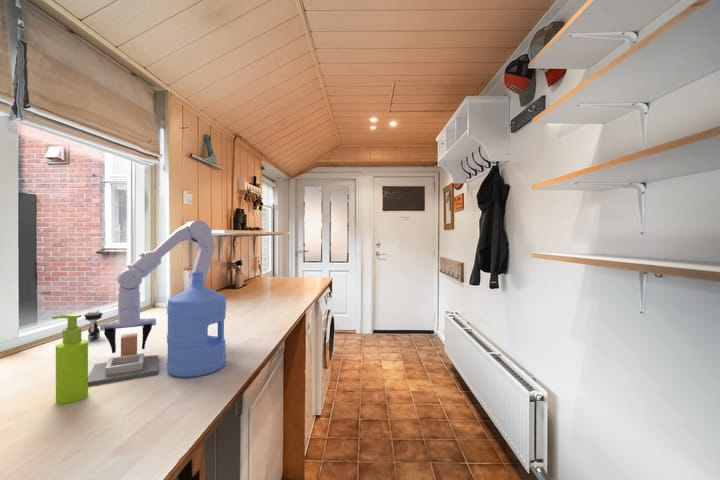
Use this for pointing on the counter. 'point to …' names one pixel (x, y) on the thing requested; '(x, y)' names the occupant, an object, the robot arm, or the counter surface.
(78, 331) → the soap dispenser
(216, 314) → the water jug
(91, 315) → the caster wheel
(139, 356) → the mounting socket
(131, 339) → the wooden peg
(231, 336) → the counter surface
